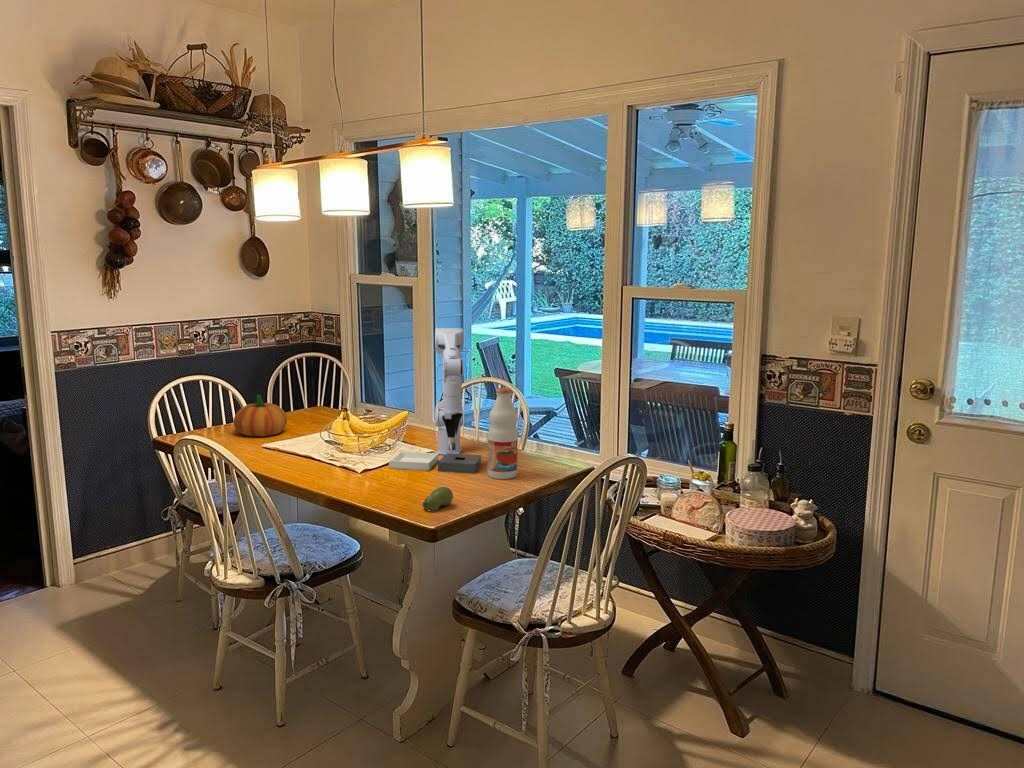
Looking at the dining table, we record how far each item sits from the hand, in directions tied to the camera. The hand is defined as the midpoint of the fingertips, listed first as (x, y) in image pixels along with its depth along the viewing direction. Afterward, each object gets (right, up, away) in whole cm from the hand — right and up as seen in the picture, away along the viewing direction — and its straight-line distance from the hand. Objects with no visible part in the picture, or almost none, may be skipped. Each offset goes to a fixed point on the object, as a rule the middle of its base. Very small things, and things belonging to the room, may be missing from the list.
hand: (452, 436), depth 255 cm
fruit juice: (+16, -12, -7) cm, 22 cm away
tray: (-13, -10, +3) cm, 16 cm away
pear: (-1, -17, -40) cm, 43 cm away
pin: (0, -4, +1) cm, 4 cm away
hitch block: (+3, -10, +1) cm, 11 cm away
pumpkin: (-76, -2, +43) cm, 87 cm away
